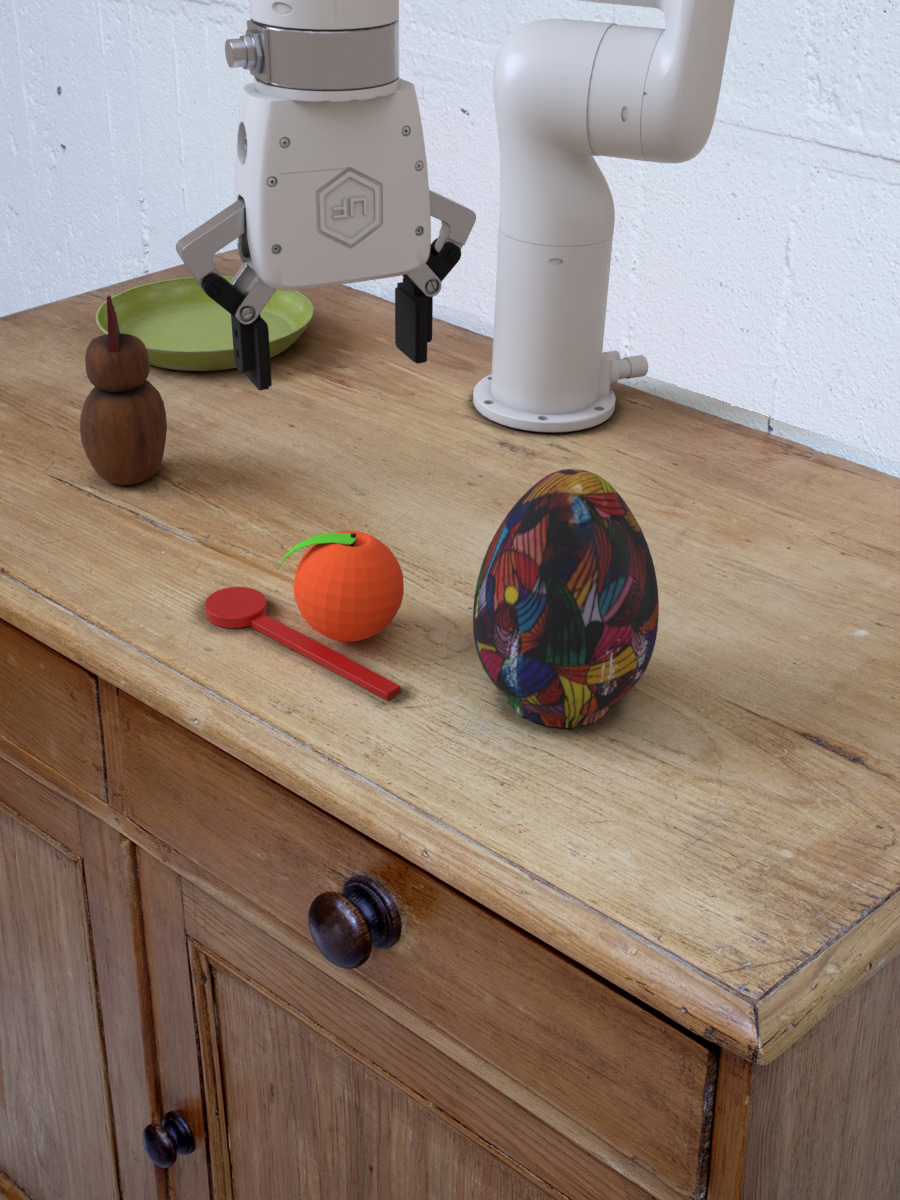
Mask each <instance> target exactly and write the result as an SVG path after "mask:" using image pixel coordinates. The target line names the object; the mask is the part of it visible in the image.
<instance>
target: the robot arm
mask: <svg viewBox="0 0 900 1200" xmlns="http://www.w3.org/2000/svg"><path fill="white" fill-rule="evenodd" d="M578 1H579V2H590V3H597V4H609V5H620V6H632V7H641V8H652V9H658V10H660V11H662V12H663V14H664V19H665V28H659V27H650V26H637V25H626V24H618V23H614V22H603V21H592V20H583V19H569V18H568V19H567V18H548V19H546V18H545V19H539V20H534V21H530V22H527V23H524V24H523V25H520V26H519V27H517V28H515V29H514V30H513V31H511V32H510V33H509V34H508V35H507V36H506V38H505V39H504V40H503V42H502V43H501V45H500V47H499V49H498V51H497V54H496V57H495V60H494V65H493V70H492V73H493V76H492V93H493V95H492V96H493V106H494V114H495V120H496V121H495V122H496V128H497V139H498V150H499V151H498V152H499V180H500V181H499V211H498V229H497V233H498V235H497V252H496V253H497V254H496V274H495V295H494V299H495V300H494V318H493V335H492V336H493V337H492V356H491V357H492V358H491V359H492V360H491V361H492V362H491V374H488V375H486V376H485V377H483V378H482V379H480V380H479V381H477V383H476V384H475V386H474V387H473V394H472V395H473V396H472V403H473V405H474V407H475V409H476V410H477V412H479V413H480V414H481V415H482V416H483V417H484V418H487V419H488V420H490V421H492V422H494V423H497V424H499V425H500V426H505V427H508V428H511V429H516V430H522V431H527V432H533V433H554V434H555V433H568V432H569V433H570V432H579V431H582V430H586V429H591V428H594V427H597V426H599V425H601V424H603V423H604V422H606V421H607V420H609V419H610V418H611V417H612V416H613V414H614V412H615V409H616V394H615V392H614V391H613V390H612V388H611V386H612V385H616V384H617V383H618V382H619V380H623V379H627V380H630V379H635V378H641V377H646V376H647V374H648V372H649V363H648V359H647V357H646V356H644V355H643V354H639V355H638V354H637V355H633V356H626V357H625V356H624V357H623V358H621V354H620V352H619V351H618V350H609V351H603V349H604V338H605V328H606V327H605V326H606V315H607V305H608V295H609V294H608V293H609V285H610V284H609V283H610V273H611V272H610V271H611V263H612V262H611V261H612V250H613V241H614V233H615V221H616V210H615V203H614V198H613V193H612V191H611V189H610V185H609V183H608V182H607V179H606V178H605V175H604V173H603V172H602V170H601V168H600V166H599V164H598V162H597V160H596V159H595V157H600V156H602V157H608V158H618V159H625V160H634V161H642V162H651V163H658V164H659V163H660V164H682V163H686V162H689V161H691V160H692V159H693V160H694V158H696V157H697V156H698V155H699V154H700V153H701V152H702V151H703V149H704V148H705V146H706V145H707V142H708V140H709V138H710V137H711V136H710V135H711V134H712V133H711V132H712V129H713V126H714V123H715V119H716V115H717V108H718V105H719V100H720V99H719V98H720V93H721V88H722V81H723V75H724V68H725V63H726V57H727V51H728V44H729V39H730V33H731V28H732V27H731V25H732V20H733V15H734V7H735V2H736V0H578ZM249 14H250V15H249V17H250V19H249V20H246V28H247V29H246V30H245V34H244V35H240V36H239V37H238V38H229V39H225V43H224V54H225V59H226V63H227V66H228V67H229V68H230V69H231V68H232V69H234V68H242V69H243V70H245V71H247V70H248V71H249V74H250V75H252V76H253V82H250V83H246V84H244V85H243V87H242V94H241V100H240V105H239V113H238V123H237V125H238V126H237V134H236V135H237V136H236V148H235V163H234V164H235V166H234V202H233V203H231V204H230V205H229V206H227V207H226V208H223V210H221V211H220V212H218V213H216V214H215V215H214V216H212V217H210V218H209V219H208V220H206V221H205V222H203V223H202V224H200V225H199V226H198V227H196V228H195V229H193V230H192V231H189V233H187V234H186V235H185V236H182V237H181V238H179V240H178V241H177V242H176V244H175V251H176V253H177V255H178V257H179V258H180V260H181V261H182V262H183V264H184V265H185V268H186V269H187V270H188V271H189V273H190V275H191V277H194V279H195V280H196V282H197V284H198V285H199V286H200V288H201V289H202V290H203V291H204V292H205V293H206V294H207V295H208V296H209V297H210V298H211V299H213V300H214V301H215V302H216V303H218V304H219V305H220V306H221V307H223V308H224V309H225V310H227V311H228V312H229V313H230V314H231V323H232V336H233V350H234V360H235V364H236V367H237V368H236V369H237V370H238V372H239V373H241V374H244V375H245V376H246V377H247V378H248V380H249V381H250V382H251V383H252V384H253V385H254V386H255V388H256V389H257V390H258V391H264V390H269V389H270V387H272V385H273V383H272V382H273V381H272V366H271V365H272V364H271V358H270V347H269V330H268V325H267V323H266V322H265V321H264V320H263V319H262V318H261V317H260V313H261V311H262V310H263V308H264V307H265V306H266V304H267V303H268V301H269V300H270V298H271V297H272V295H273V294H274V293H275V291H276V290H277V289H278V290H284V291H293V290H296V291H302V290H311V289H319V288H325V287H333V286H339V285H340V286H341V285H347V284H354V283H361V282H368V281H375V280H381V279H388V278H395V277H400V276H402V281H401V282H397V283H396V284H397V285H396V287H395V288H394V344H395V347H396V348H397V349H398V350H399V351H400V352H401V353H402V354H404V355H405V356H406V357H407V358H408V359H410V361H411V362H413V363H415V364H417V365H419V364H423V363H424V364H425V363H427V361H428V343H431V342H432V340H433V314H434V313H433V311H434V309H433V304H434V301H433V300H434V298H433V297H436V296H437V295H439V294H440V292H441V291H442V286H443V284H442V282H443V281H444V279H445V278H446V277H447V276H448V275H449V274H450V272H451V271H452V270H453V269H454V268H455V266H456V265H457V264H458V263H459V262H460V260H461V257H462V249H463V246H465V245H466V244H467V241H468V239H469V236H470V234H471V232H472V231H473V228H474V226H475V224H476V221H477V214H476V213H475V211H473V210H472V209H470V208H469V207H467V206H466V205H464V204H462V203H460V202H457V201H455V200H453V199H451V198H449V197H446V196H444V195H443V194H440V193H438V192H437V191H433V190H432V189H430V185H429V173H428V162H427V154H426V146H425V138H424V129H423V123H422V116H421V111H420V105H419V101H418V95H417V91H416V87H415V84H414V83H412V82H411V81H408V80H406V79H403V78H400V20H399V18H400V0H249ZM432 217H433V218H435V219H437V220H439V221H440V223H441V227H440V229H439V232H438V233H439V234H438V237H436V238H435V239H434V240H433V241H432V220H431V219H432ZM235 240H236V246H237V251H238V255H239V258H240V260H241V262H242V265H241V266H240V267H239V269H238V271H237V272H235V274H234V276H233V277H234V278H233V279H232V281H231V282H230V283H229V282H228V281H227V280H226V279H225V278H223V277H222V276H223V275H221V274H220V272H219V271H218V270H217V268H216V266H215V264H214V262H213V260H214V256H215V255H216V253H217V252H219V251H220V250H222V249H223V248H225V247H226V246H228V245H229V244H231V243H233V242H234V241H235Z"/></svg>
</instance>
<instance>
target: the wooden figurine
mask: <svg viewBox="0 0 900 1200" xmlns="http://www.w3.org/2000/svg"><path fill="white" fill-rule="evenodd" d="M111 297H112V295H107V296H106V301H107V320H108V334H101V335H99V336H96V337H95V338H92V339H91V341H90V342H89V344H88V345H87V347H86V351H85V355H84V357H85V358H84V363H85V372H86V373H85V374H86V377H87V379H88V380H89V382H90V384H91V385H93V388H91V390H90V391H89V393H88V394H87V396H86V398H85V400H84V402H83V406H82V410H81V413H80V417H79V420H80V421H79V426H80V427H79V433H80V441H81V444H82V448H83V450H84V454H85V456H86V457H87V459H88V461H89V463H90V465H91V466H92V468H93V470H94V471H95V473H96V474H97V475H98V476H99V477H100V478H101V479H102V480H103V481H106V482H108V483H111V484H113V485H119V486H133V485H137V484H140V483H143V482H145V481H147V480H149V479H150V478H152V477H153V476H155V474H156V473H157V472H158V471H159V468H160V467H161V464H162V461H163V458H164V455H165V454H164V453H165V449H166V448H165V447H166V441H167V432H168V421H167V420H168V419H167V413H166V407H165V403H164V400H163V397H162V396H161V393H160V391H158V389H157V388H156V387H155V386H154V385H153V384H152V383H151V382H150V380H148V377H149V374H150V370H151V369H150V365H149V359H148V352H147V349H146V347H145V344H144V343H143V342H142V341H141V340H140V339H139V338H138V337H136V336H133V335H130V334H123V333H120V331H119V326H118V321H117V316H116V312H115V310H114V306H113V304H112V299H111Z"/></svg>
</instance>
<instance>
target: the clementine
mask: <svg viewBox="0 0 900 1200" xmlns="http://www.w3.org/2000/svg"><path fill="white" fill-rule="evenodd" d="M307 547H309V548H308V549H307V550H306V551H305V552H304V553H303V555H302V556H301V558H300V560H299V561H298V563H297V565H296V568H295V569H296V570H295V574H294V580H293V584H292V585H293V586H292V587H293V596H294V597H293V598H294V600H295V603H296V605H297V608H298V610H299V613H300V616H301V617H302V618H303V619H304V620H305V622H306V623H307V624H308V625H309V626H310V627H311V628H312V629H313V630H314V631H315V632H318V633H319V634H321V635H323V636H324V637H326V638H328V639H331V640H333V641H338V642H346V643H353V642H360V641H363V640H366V639H369V638H371V637H374V636H376V635H379V633H380V632H382V631H383V630H385V629H386V627H388V626H389V625H390V624H391V623H392V622H393V620H394V618H395V617H396V615H397V613H398V612H399V610H400V608H401V606H402V602H403V600H404V599H403V598H404V594H405V592H404V591H405V588H404V587H405V586H404V585H405V584H404V573H403V571H402V568H401V565H400V562H399V560H398V559H397V557H396V556H395V554H394V553H393V552H392V551H391V549H390V548H389V547H388V546H387V545H386V544H385V543H383V542H382V541H381V540H379V539H378V538H376V537H374V536H372V535H370V534H369V533H366V532H364V531H358V530H341V531H336V532H327V533H321V534H318V535H314V536H310V537H308V538H306V539H304V540H303V541H301V542H299V543H297V544H296V545H294V546H292V548H291V549H290V550H289V551H288V552H287V553H286V554H285V555H284V556H283V558H282V560H281V562H280V563H279V565H278V566H277V569H276V571H279V569H280V568H281V566H282V564H283V563H284V561H285V560H286V559H287V558H288V557H289V556H291V555H292V554H293V553H295V552H297V551H298V550H301V549H304V548H307Z"/></svg>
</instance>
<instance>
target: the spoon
mask: <svg viewBox="0 0 900 1200" xmlns="http://www.w3.org/2000/svg"><path fill="white" fill-rule="evenodd" d="M267 613H268V603H267V598H266V596H265V595H264V593H262V592H261V591H259V590H258V589H255V588H252V587H248V586H230V587H225V588H221V589H218V590H216V591H214V592H212V593H211V594H209V595H208V596H207V598H206V600H205V602H204V614H205V617H206V619H207V620H208V621H209V622H210V623H211V624H213V625H215V626H217V627H220V628H223V629H224V628H225V629H243V628H246V627H250V628H251V629H254V630H256V631H257V632H259V633H261V634H263V635H264V636H266V637H268V638H270V639H272V640H274V641H276V642H277V643H280V644H281V645H283V646H285V647H287V648H289V649H291V650H293V651H294V652H296V653H298V654H300V655H301V656H304V657H306V658H307V659H309V660H311V661H313V662H315V663H316V664H319V665H320V666H323V667H324V668H326V669H327V670H330V671H332V672H333V673H335V674H337V675H339V676H340V677H342V678H345V679H347V680H348V681H350V682H352V683H354V684H356V685H358V686H360V687H362V688H363V689H365V690H367V691H369V692H371V693H373V694H375V695H377V696H378V697H380V698H382V699H383V700H386V701H389V700H390V699H392V698H394V697H396V696H397V695H398V694H400V693H401V685H400V684H398V683H396V682H394V681H392V680H391V679H388V678H386V677H385V676H383V675H381V674H379V673H377V672H375V671H373V670H371V669H369V667H368V668H367V667H366V666H365V665H362V664H360V663H358V662H357V661H354V660H352V659H350V658H348V657H346V656H345V655H343V654H341V653H339V652H337V651H336V650H333V649H332V648H330V647H328V646H326V645H324V644H322V643H321V642H319V641H316V640H314V639H313V638H311V637H309V636H307V635H305V634H303V633H301V632H299V631H297V630H296V629H293V628H291V627H290V626H288V625H286V624H284V623H282V622H281V621H278V620H276V619H274V618H273V617H271V616H269V615H267Z"/></svg>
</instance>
